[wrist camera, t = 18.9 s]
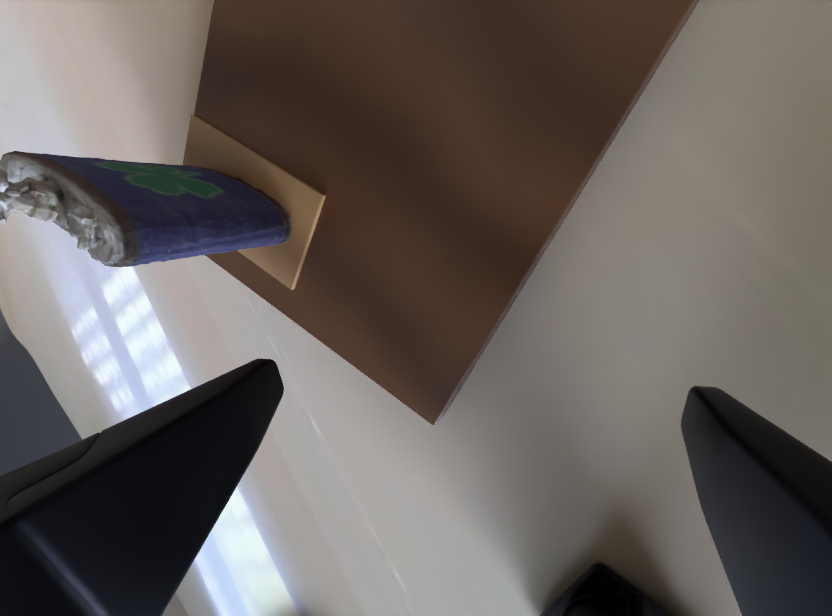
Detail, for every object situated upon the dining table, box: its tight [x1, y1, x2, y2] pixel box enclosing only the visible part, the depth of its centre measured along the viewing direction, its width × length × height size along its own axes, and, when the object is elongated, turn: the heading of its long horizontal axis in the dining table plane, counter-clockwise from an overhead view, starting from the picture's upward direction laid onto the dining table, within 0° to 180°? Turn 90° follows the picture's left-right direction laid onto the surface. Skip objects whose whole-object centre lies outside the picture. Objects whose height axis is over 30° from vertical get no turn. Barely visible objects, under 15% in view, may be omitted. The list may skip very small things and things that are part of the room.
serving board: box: [183, 0, 699, 426], centre depth 21 cm, size 22×22×2 cm
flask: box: [0, 151, 293, 267], centre depth 19 cm, size 9×3×11 cm, turn 70°
